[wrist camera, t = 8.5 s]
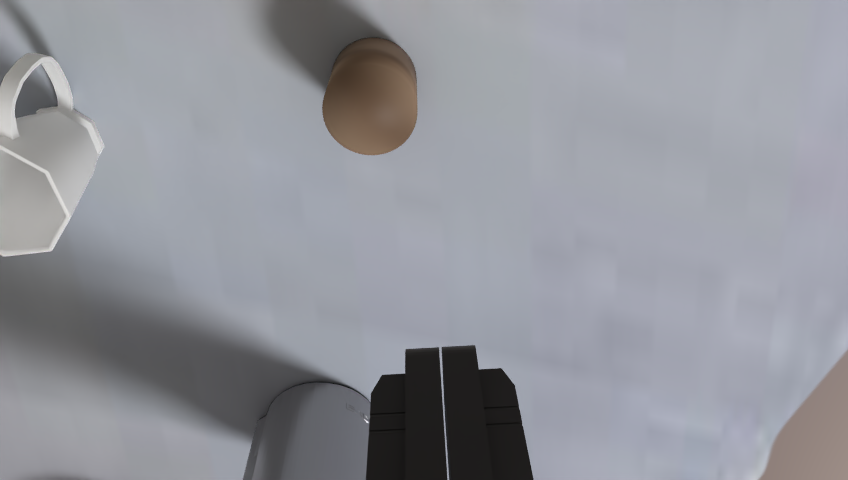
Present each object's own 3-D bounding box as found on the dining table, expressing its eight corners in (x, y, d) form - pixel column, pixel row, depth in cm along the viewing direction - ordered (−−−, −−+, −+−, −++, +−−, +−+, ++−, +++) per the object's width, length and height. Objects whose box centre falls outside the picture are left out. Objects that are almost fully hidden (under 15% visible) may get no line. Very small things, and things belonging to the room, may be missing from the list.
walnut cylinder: (363, 133, 40) (358, 170, 36) (314, 66, 38) (303, 97, 34) (432, 92, 39) (434, 126, 35) (386, 20, 37) (383, 47, 33)
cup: (10, 173, 41) (-68, 243, 35) (-1, 18, 36) (-96, 65, 29) (125, 198, 43) (71, 270, 36) (129, 51, 37) (68, 103, 31)
